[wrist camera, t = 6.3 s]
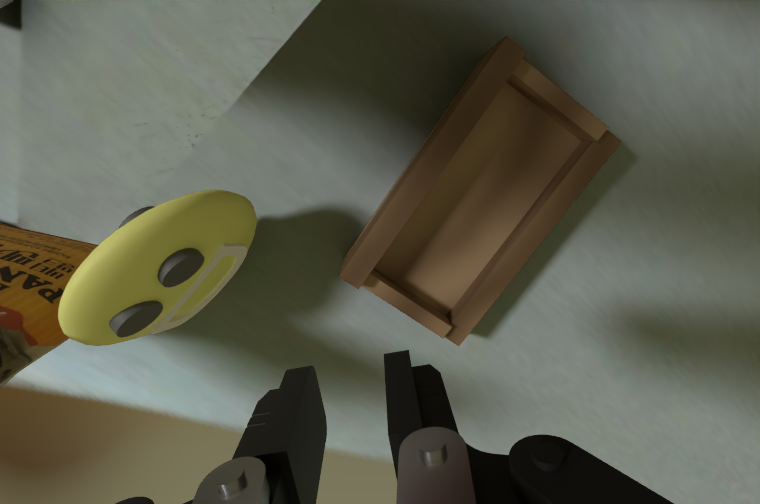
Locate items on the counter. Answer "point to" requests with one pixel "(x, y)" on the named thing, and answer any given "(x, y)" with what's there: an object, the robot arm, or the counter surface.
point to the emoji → (158, 268)
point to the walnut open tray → (479, 195)
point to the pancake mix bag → (33, 293)
